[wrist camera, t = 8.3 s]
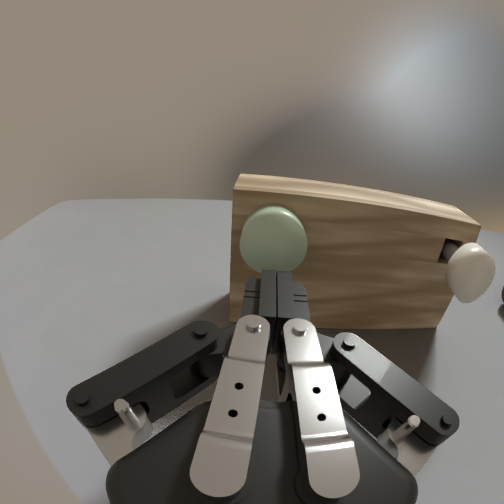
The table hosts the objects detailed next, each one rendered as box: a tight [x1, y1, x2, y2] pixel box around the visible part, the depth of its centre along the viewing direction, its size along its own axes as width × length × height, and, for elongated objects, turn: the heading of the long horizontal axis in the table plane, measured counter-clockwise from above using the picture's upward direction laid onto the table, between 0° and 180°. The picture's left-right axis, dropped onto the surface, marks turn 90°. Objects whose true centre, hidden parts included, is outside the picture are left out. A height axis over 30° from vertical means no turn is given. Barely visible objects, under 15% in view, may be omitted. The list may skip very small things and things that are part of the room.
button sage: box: [240, 204, 307, 273], centre depth 20 cm, size 6×4×4 cm
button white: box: [440, 239, 495, 303], centre depth 18 cm, size 6×4×4 cm
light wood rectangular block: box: [229, 174, 481, 329], centre depth 23 cm, size 5×22×12 cm, turn 86°
